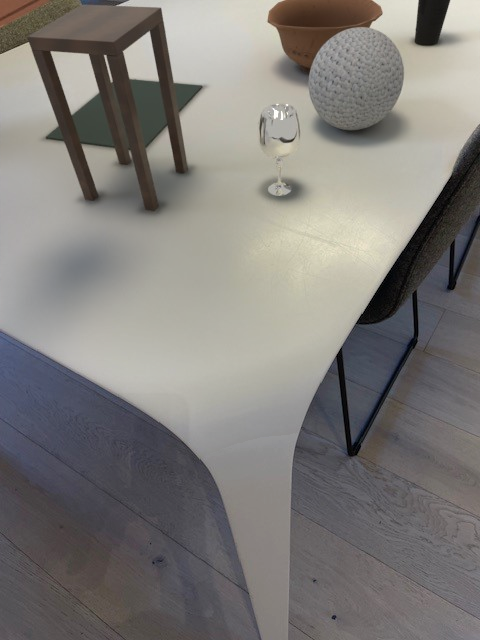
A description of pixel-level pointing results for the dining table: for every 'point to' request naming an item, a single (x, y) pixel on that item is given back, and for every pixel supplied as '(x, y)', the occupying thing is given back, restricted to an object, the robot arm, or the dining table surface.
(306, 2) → the bowl
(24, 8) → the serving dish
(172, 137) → the stand
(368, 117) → the decorative ball
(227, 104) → the dining table surface
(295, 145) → the wineglass
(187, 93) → the place mat
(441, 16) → the drinking cup
